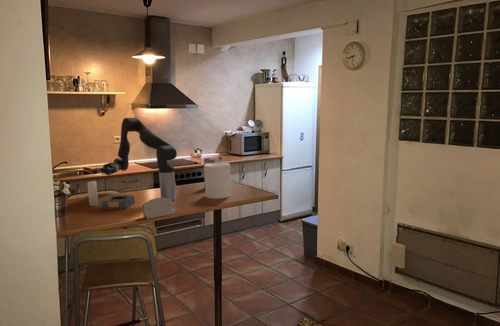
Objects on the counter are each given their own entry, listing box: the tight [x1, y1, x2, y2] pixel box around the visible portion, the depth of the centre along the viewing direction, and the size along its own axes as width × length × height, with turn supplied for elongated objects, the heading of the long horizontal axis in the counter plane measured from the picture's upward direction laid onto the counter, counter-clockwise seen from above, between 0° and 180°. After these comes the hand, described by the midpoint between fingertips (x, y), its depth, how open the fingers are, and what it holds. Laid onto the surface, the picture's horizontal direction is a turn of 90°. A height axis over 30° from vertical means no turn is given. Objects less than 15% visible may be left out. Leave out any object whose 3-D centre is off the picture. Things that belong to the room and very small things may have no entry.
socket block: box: [100, 194, 136, 210], centre depth 236 cm, size 14×14×5 cm
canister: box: [203, 162, 232, 200], centre depth 254 cm, size 16×16×20 cm
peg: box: [87, 180, 99, 207], centre depth 240 cm, size 5×5×14 cm
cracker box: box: [203, 155, 223, 182], centre depth 285 cm, size 14×6×21 cm, turn 147°
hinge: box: [142, 197, 177, 220], centre depth 214 cm, size 17×5×10 cm, turn 124°
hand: (100, 172), depth 251 cm, fingers open, 8 cm apart
